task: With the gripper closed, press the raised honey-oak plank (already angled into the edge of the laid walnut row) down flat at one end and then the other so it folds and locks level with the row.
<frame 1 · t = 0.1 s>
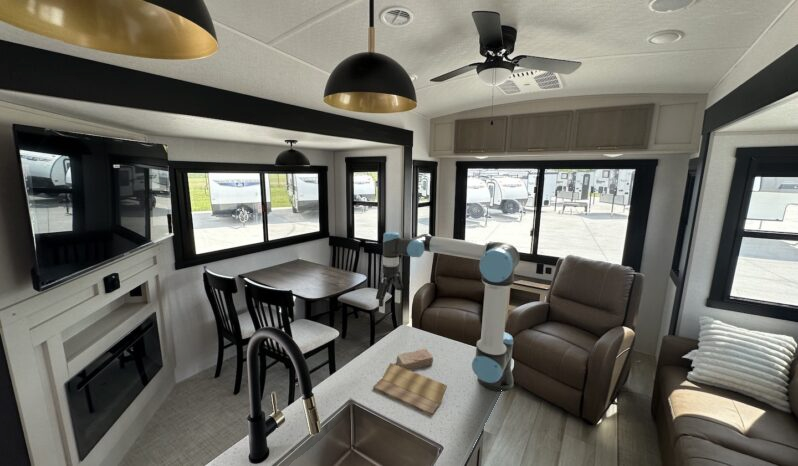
hand: (390, 307, 149), 28 cm above the kitchen island, fingers open, 13 cm apart
brick: (414, 364, 152), on the kitchen island
laid row: (404, 397, 128), on the kitchen island
plank: (413, 382, 134), point 3 cm above the kitchen island, hinge at 30.0°
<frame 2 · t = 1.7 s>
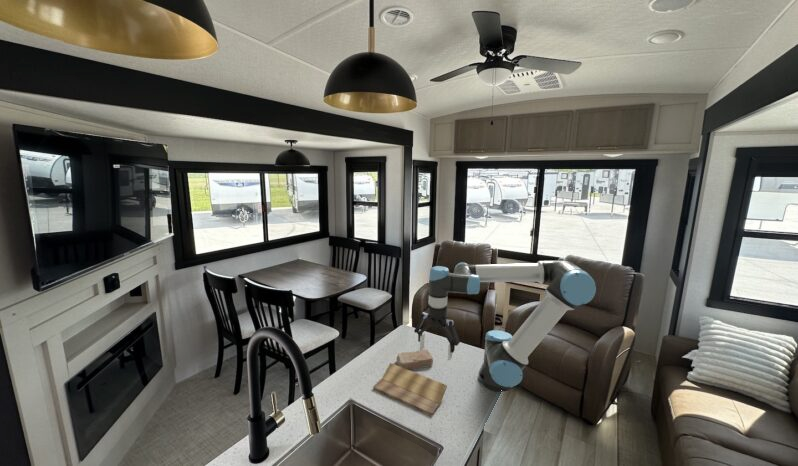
hand: (435, 353, 128), 18 cm above the kitchen island, fingers open, 12 cm apart
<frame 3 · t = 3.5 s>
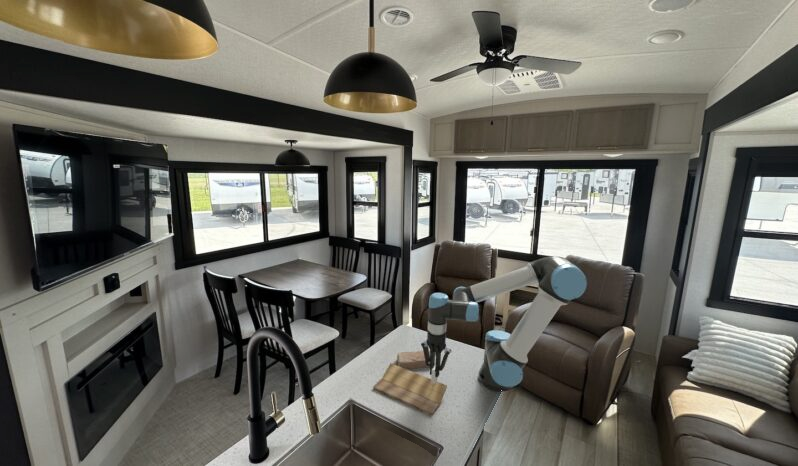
hand: (434, 382, 131), 5 cm above the kitchen island, fingers closed
plank: (413, 382, 134), point 2 cm above the kitchen island, hinge at 29.2°, touching gripper
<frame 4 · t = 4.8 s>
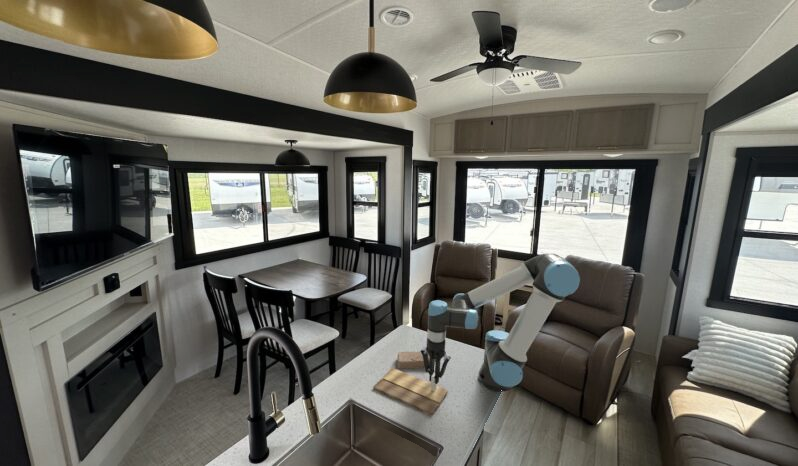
hand: (433, 388, 131), 2 cm above the kitchen island, fingers closed
plank: (414, 384, 135), point 1 cm above the kitchen island, hinge at 4.0°, touching gripper
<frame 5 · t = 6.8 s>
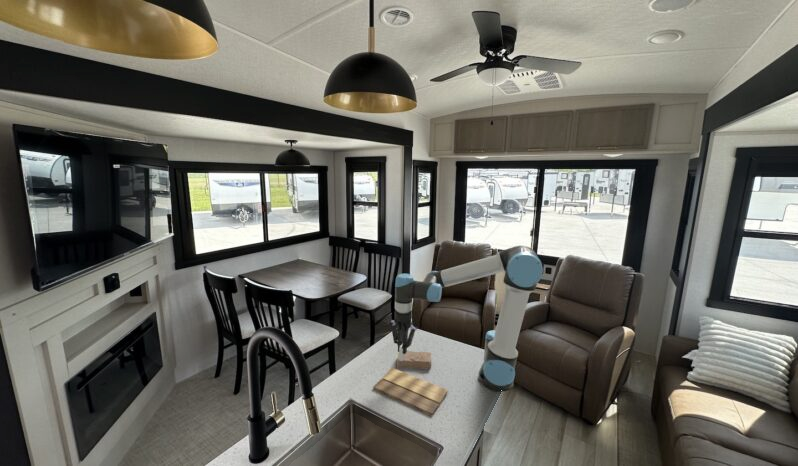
hand: (402, 359, 138), 10 cm above the kitchen island, fingers closed
plank: (414, 384, 135), point 1 cm above the kitchen island, hinge at 4.0°
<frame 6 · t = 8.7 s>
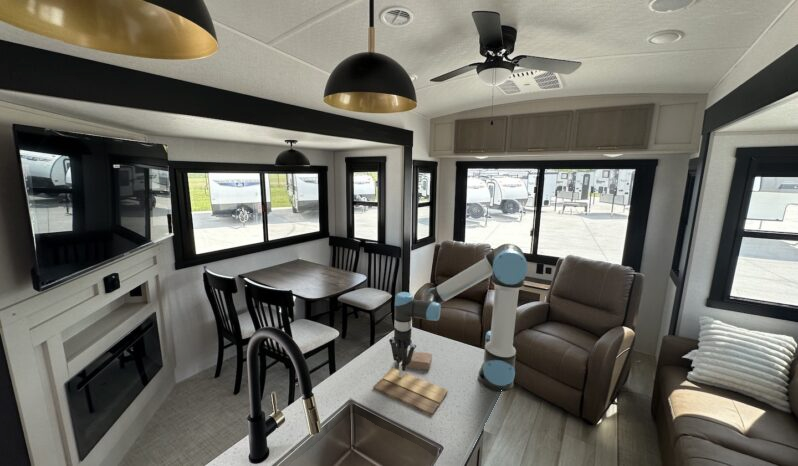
hand: (401, 375, 139), 2 cm above the kitchen island, fingers closed
plank: (414, 384, 135), point 1 cm above the kitchen island, hinge at 4.0°, touching gripper
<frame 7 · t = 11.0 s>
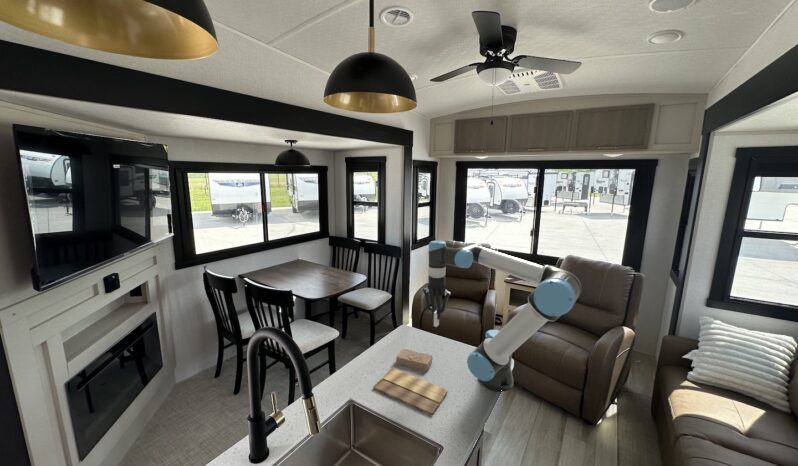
hand: (436, 325, 141), 24 cm above the kitchen island, fingers closed
plank: (414, 384, 135), point 1 cm above the kitchen island, hinge at 3.9°
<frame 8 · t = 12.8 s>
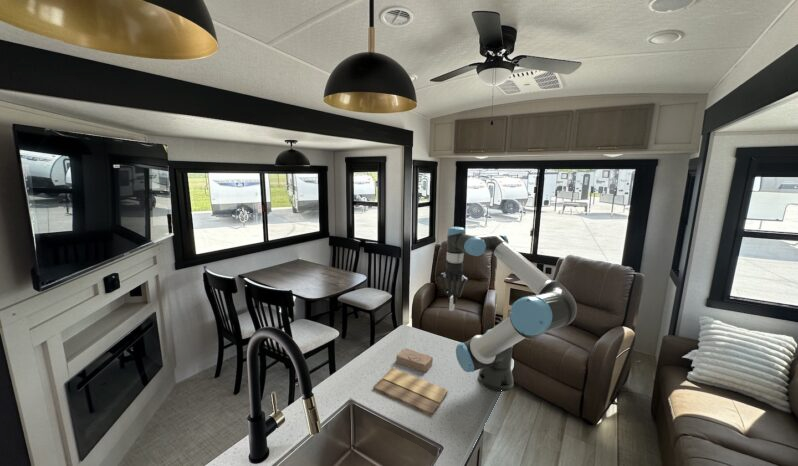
hand: (451, 309, 144), 29 cm above the kitchen island, fingers closed
at the end: plank at +4° (first picture: +30°); the gripper is holding nothing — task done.
